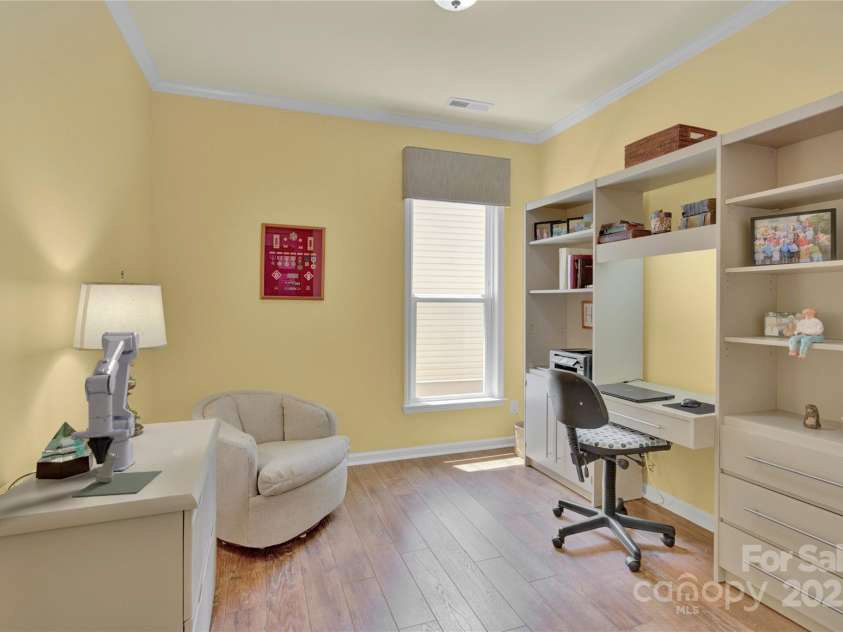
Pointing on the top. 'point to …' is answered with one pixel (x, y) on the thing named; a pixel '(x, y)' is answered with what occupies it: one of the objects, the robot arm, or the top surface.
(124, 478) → the mat
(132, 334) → the robot arm
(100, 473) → the rook chess piece
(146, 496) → the top surface
